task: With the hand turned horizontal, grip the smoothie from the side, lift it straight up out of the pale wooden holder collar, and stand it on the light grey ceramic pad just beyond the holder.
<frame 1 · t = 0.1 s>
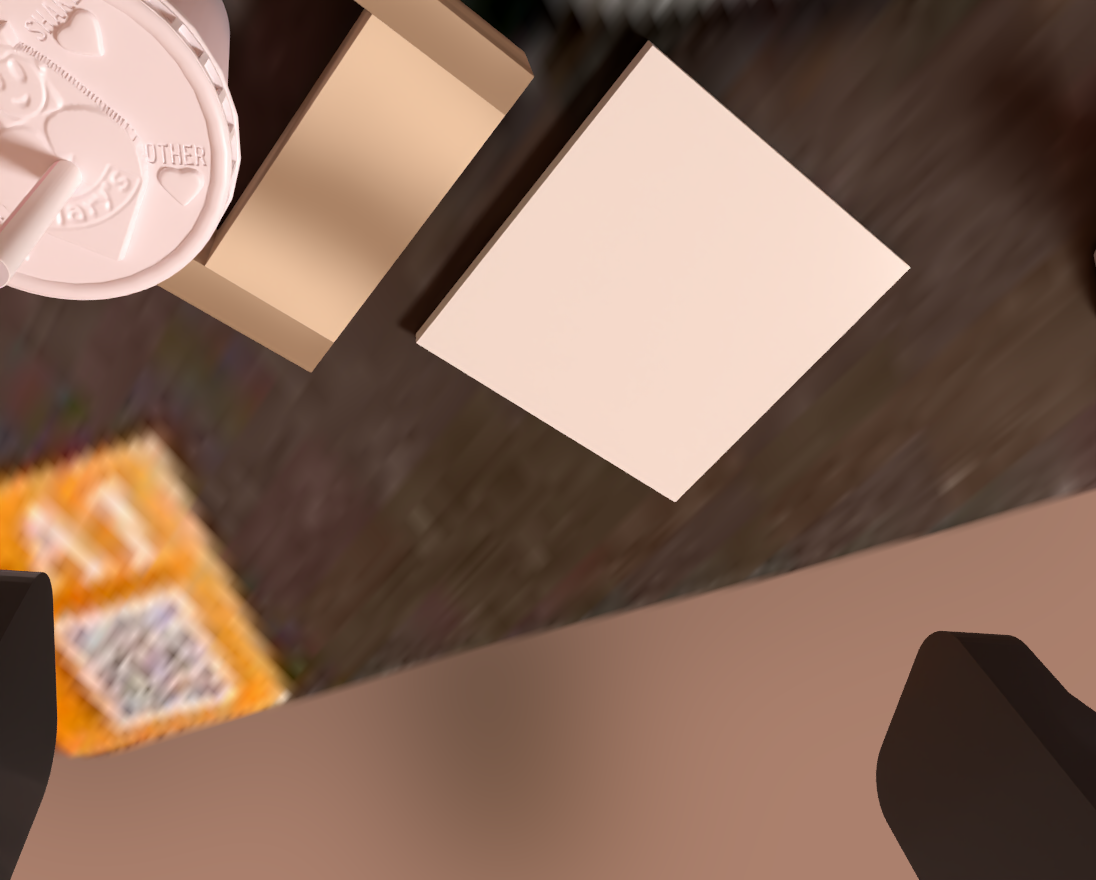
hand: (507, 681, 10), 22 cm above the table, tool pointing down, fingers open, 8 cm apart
holder collar: (155, 24, 27), on the table
smoothie: (156, 22, 27), resting in holder collar
ceramic pad: (661, 296, 33), on the table
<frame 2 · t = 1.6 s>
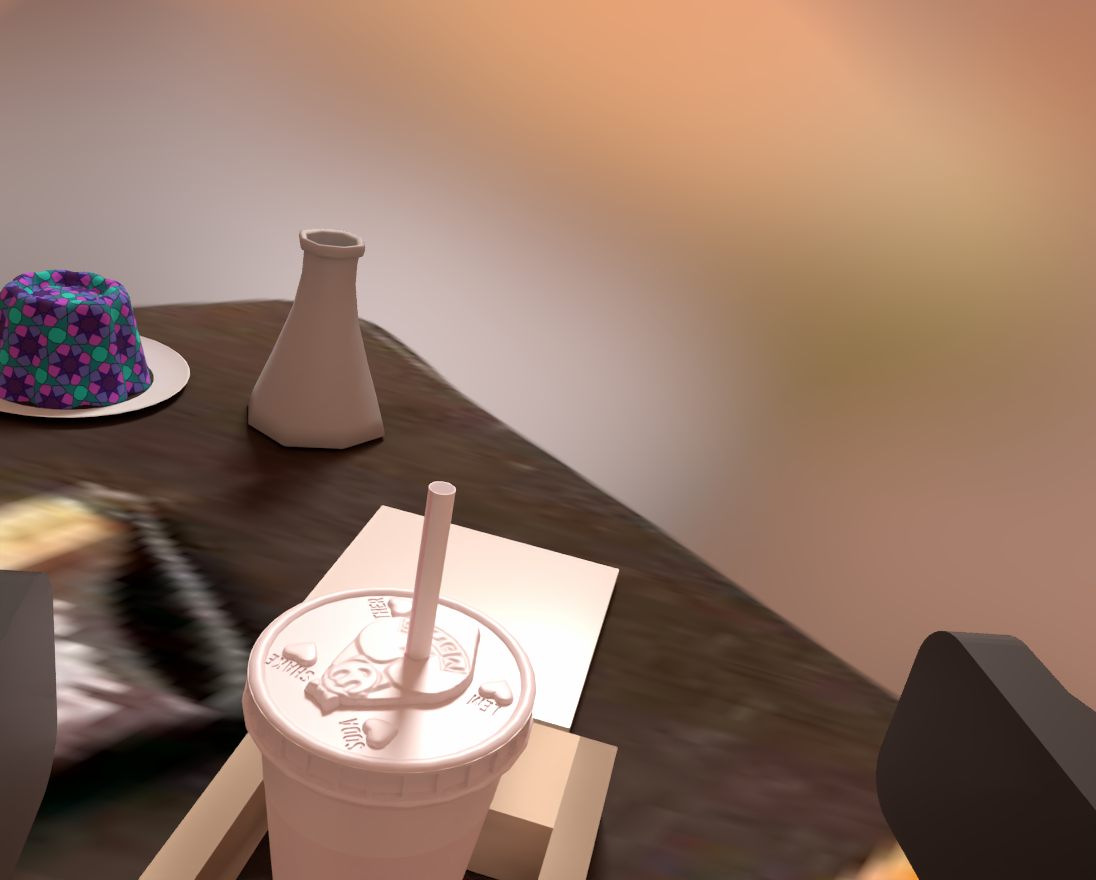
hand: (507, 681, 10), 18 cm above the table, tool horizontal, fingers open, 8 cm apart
ceramic pad: (461, 613, 41), on the table
pudding: (68, 384, 55), on the table
flask: (315, 425, 55), on the table
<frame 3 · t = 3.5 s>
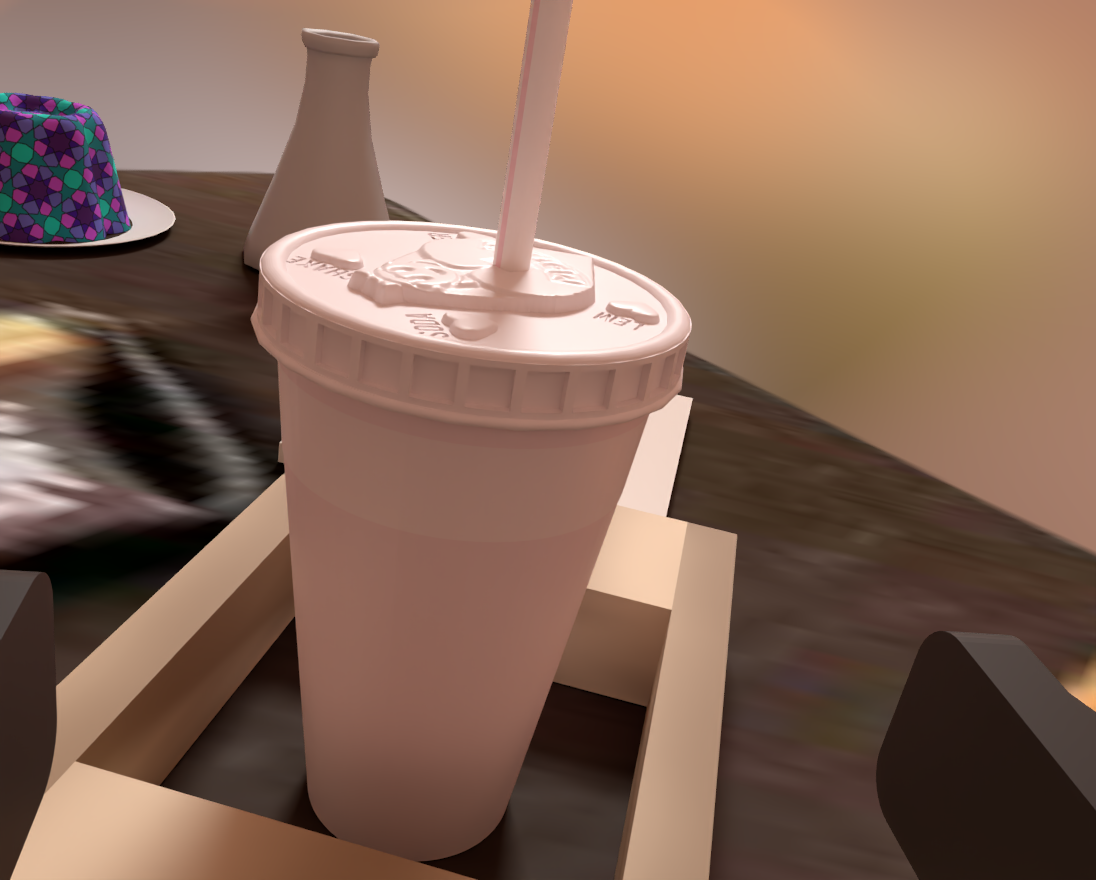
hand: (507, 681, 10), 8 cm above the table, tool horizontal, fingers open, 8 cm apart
holder collar: (409, 781, 19), on the table
smoothie: (408, 790, 19), resting in holder collar
ceramic pad: (509, 434, 34), on the table
pudding: (34, 227, 47), on the table
flask: (322, 272, 47), on the table
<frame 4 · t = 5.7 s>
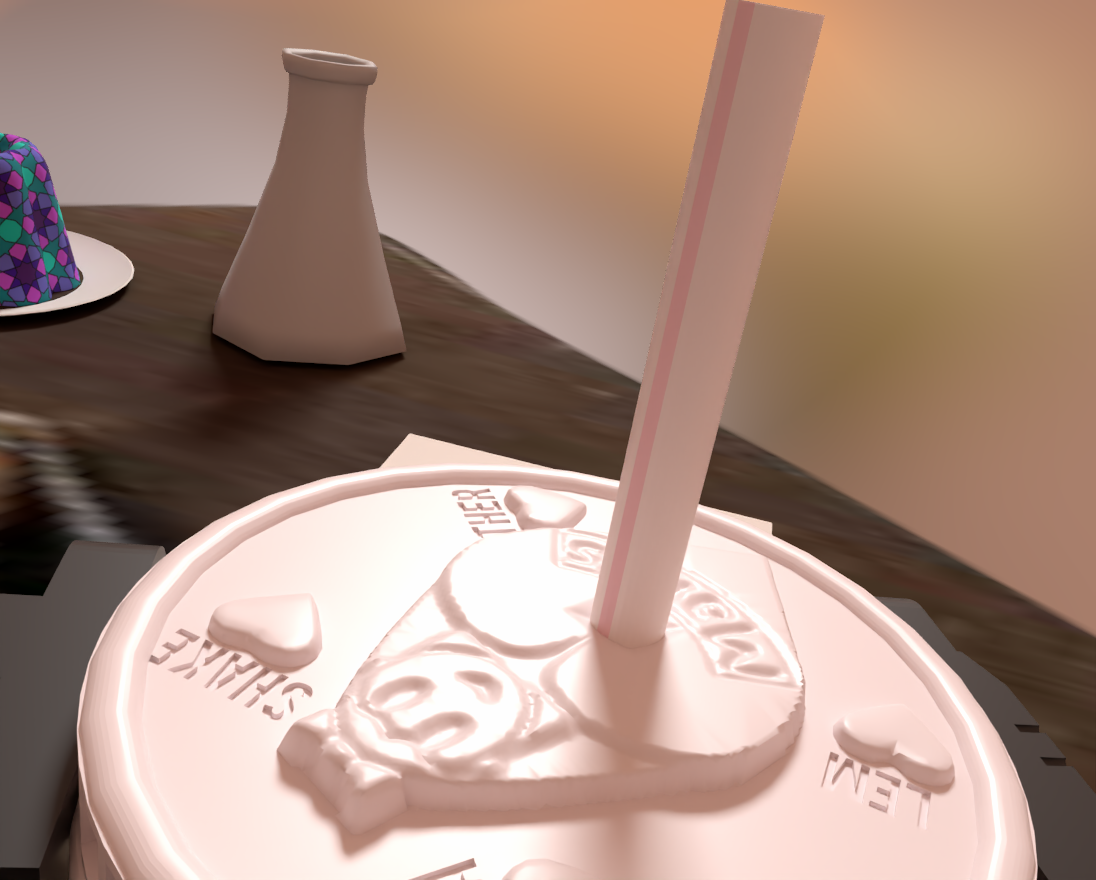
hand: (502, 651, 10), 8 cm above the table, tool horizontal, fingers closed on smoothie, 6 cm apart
ceramic pad: (544, 588, 26), on the table
flask: (308, 340, 39), on the table
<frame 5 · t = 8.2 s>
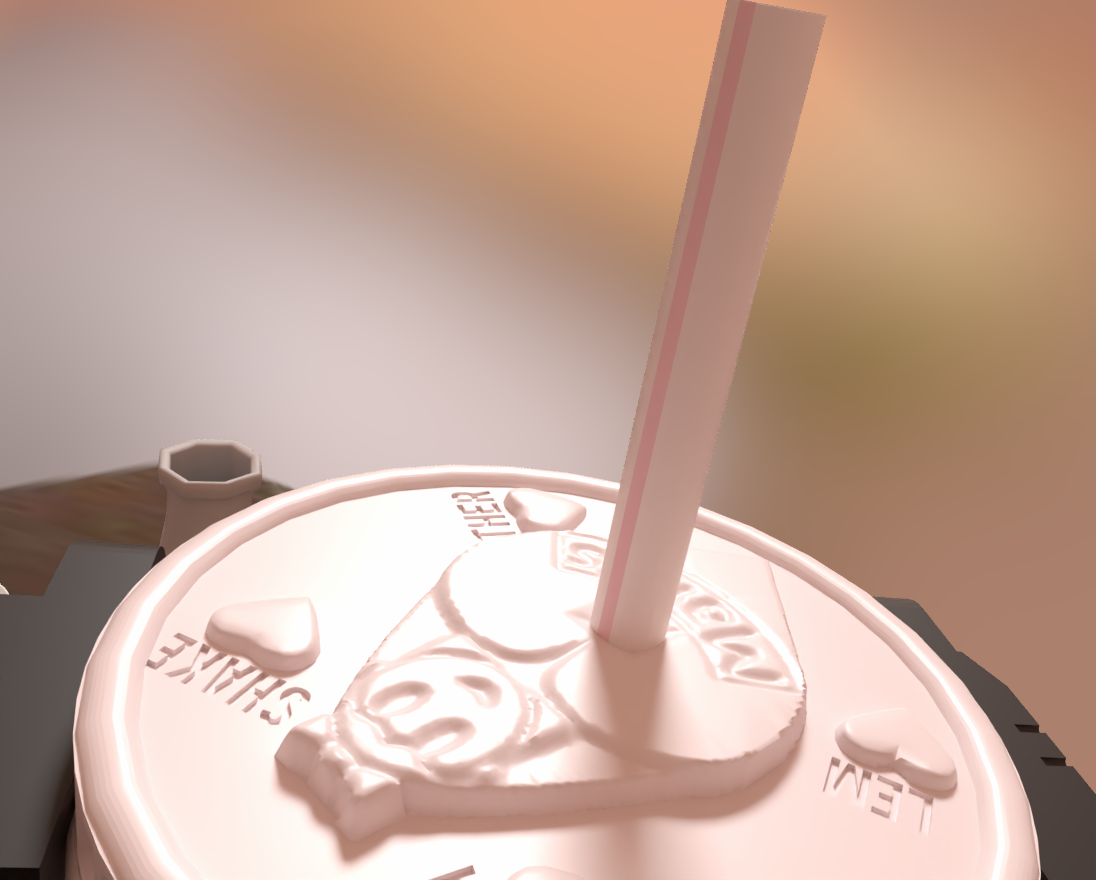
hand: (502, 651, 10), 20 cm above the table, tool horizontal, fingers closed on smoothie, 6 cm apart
flask: (202, 717, 37), on the table
when the fingers open (10 cm above the table, at t = 11.2 s): smoothie drops 1 cm, resting on ceramic pad.
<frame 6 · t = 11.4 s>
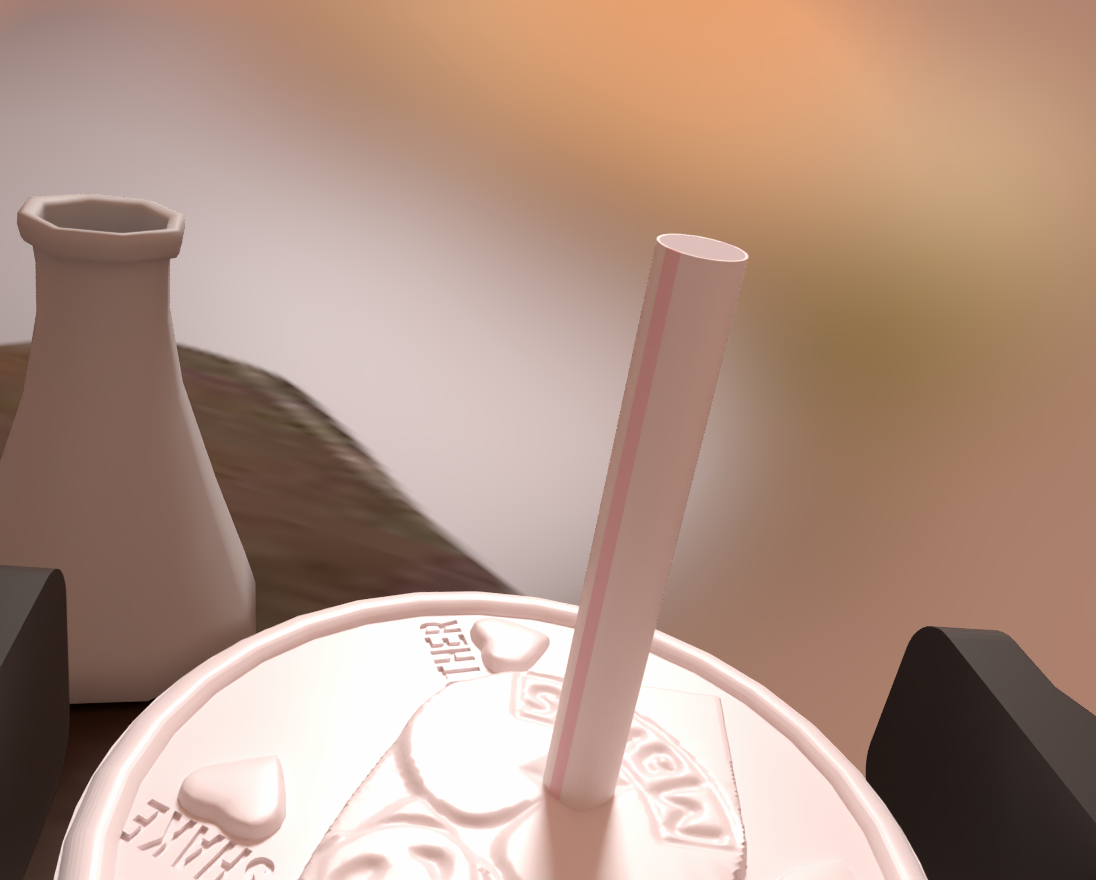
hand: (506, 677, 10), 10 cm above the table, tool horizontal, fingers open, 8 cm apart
flask: (108, 625, 25), on the table
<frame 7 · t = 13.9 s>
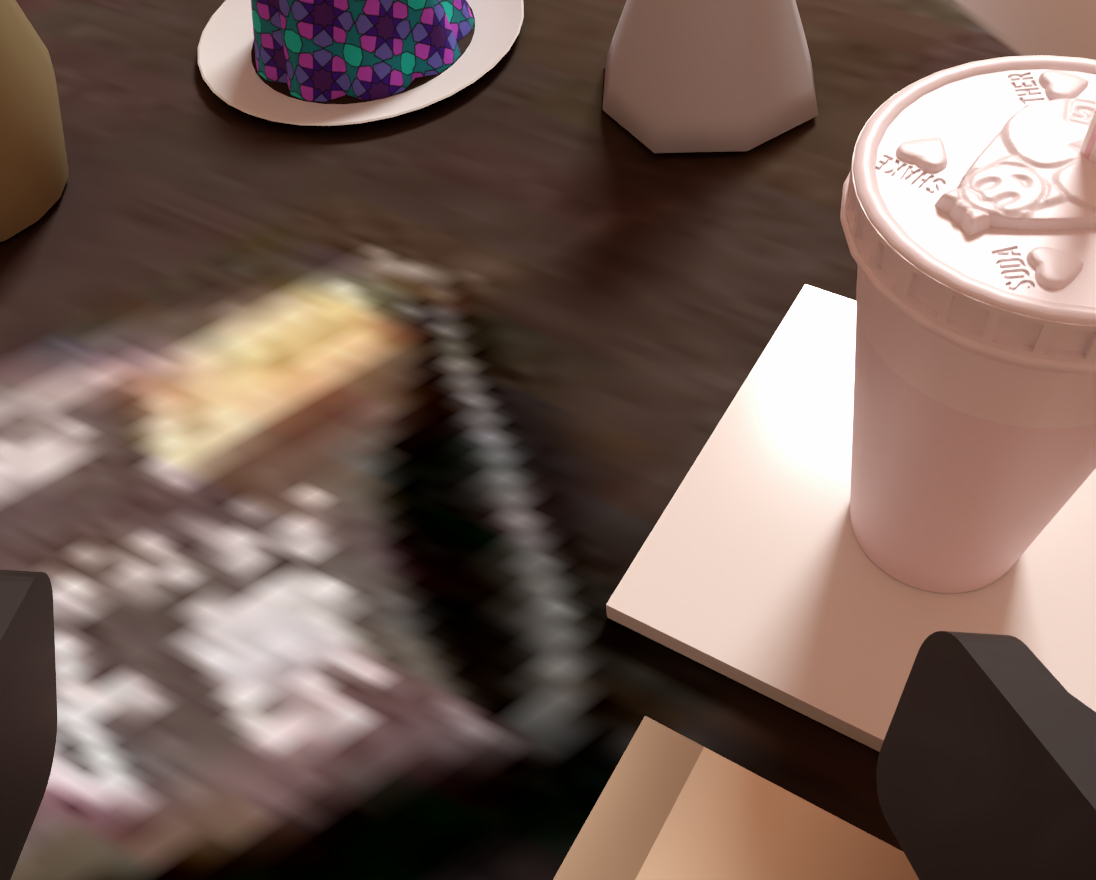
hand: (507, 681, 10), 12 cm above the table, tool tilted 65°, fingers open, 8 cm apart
smoothie: (932, 525, 23), resting on ceramic pad
ceramic pad: (933, 531, 24), on the table
pudding: (366, 47, 39), on the table
flask: (707, 98, 35), on the table
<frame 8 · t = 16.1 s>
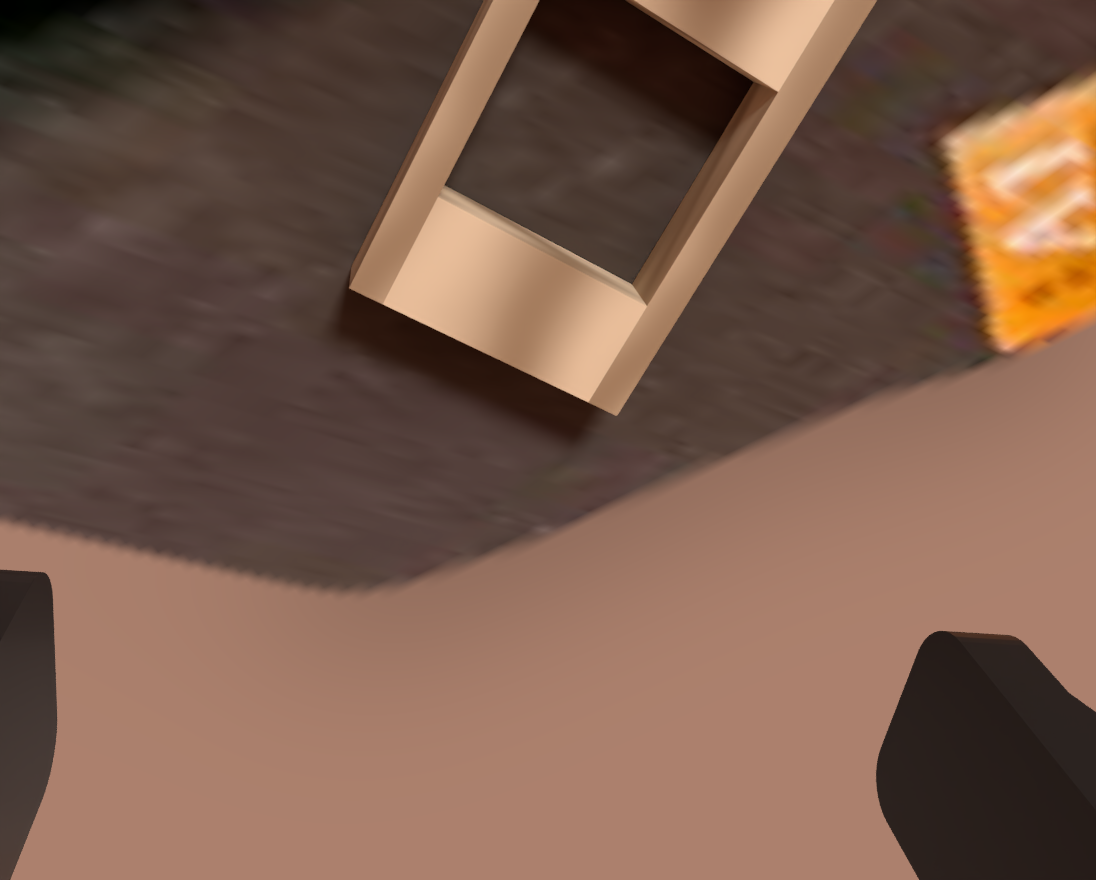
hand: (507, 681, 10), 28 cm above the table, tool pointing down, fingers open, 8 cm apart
holder collar: (594, 131, 35), on the table
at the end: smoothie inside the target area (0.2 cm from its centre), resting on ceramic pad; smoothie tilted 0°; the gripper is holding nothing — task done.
